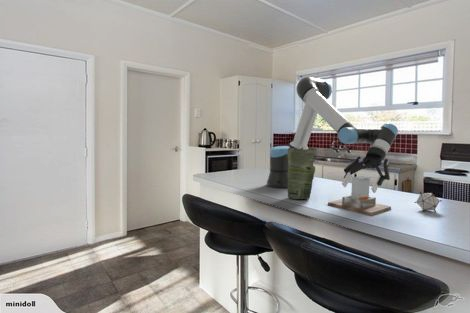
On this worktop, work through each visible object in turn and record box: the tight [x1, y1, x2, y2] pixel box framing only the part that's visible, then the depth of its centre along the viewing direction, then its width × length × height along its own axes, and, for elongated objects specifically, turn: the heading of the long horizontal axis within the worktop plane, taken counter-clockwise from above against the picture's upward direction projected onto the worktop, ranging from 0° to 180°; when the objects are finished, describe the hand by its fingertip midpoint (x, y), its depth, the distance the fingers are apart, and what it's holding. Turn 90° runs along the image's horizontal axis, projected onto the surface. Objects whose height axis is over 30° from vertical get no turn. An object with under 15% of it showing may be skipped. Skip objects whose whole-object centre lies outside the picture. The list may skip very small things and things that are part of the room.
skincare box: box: [350, 175, 371, 201], centre depth 125 cm, size 6×4×12 cm
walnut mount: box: [327, 194, 392, 216], centre depth 126 cm, size 20×16×4 cm
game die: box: [413, 191, 443, 213], centre depth 120 cm, size 9×8×10 cm
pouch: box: [287, 147, 318, 200], centre depth 141 cm, size 11×12×25 cm
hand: (357, 188), depth 124 cm, fingers open, 13 cm apart
